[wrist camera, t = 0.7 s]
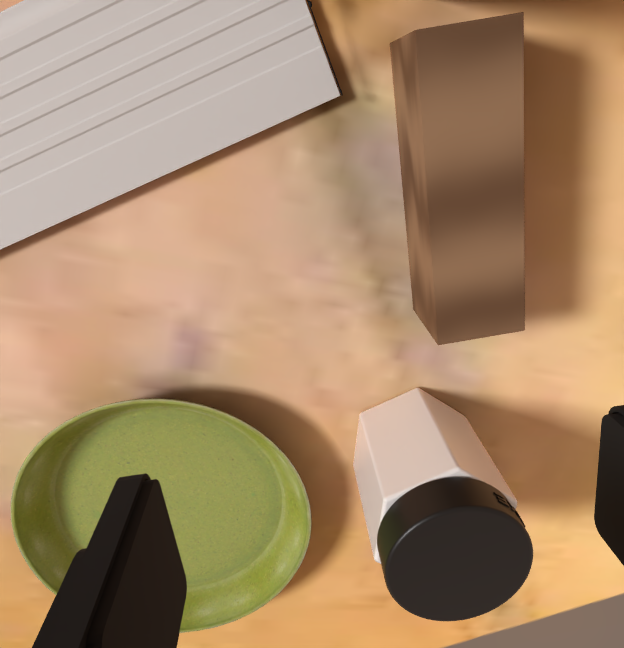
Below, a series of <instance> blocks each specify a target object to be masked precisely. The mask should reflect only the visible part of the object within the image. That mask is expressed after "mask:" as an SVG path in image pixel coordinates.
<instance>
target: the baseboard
mask: <svg viewBox="0 0 624 648" xmlns="http://www.w3.org/2000/svg"><path fill="white" fill-rule="evenodd" d="M307 1H308V0H307ZM308 4H309V7H310V10H311V7H312V3H311V1H308ZM311 12H312V10H311ZM312 15H313V12H312ZM313 18H314V15H313ZM314 21H315V18H314ZM315 23H316V21H315ZM316 26H317V23H316ZM317 29H318V26H317ZM318 32H319V29H318ZM319 34H320V32H319ZM320 37H321V34H320ZM321 40H322V37H321ZM322 43H323V40H322ZM323 45H324V43H323ZM324 48H325V45H324ZM325 51H326V48H325ZM326 54H327V51H326ZM327 56H328V54H327ZM328 59H329V56H328ZM329 62H330V59H329ZM330 65H331V62H330ZM331 67H332V65H331ZM332 70H333V67H332ZM333 73H334V70H333ZM334 76H335V73H334ZM335 78H336V76H335ZM336 81H337V78H336ZM337 84H338V81H337ZM338 87H339V84H338ZM339 89H340V87H339ZM339 91H340V93H341V95H342V91H341V89H340V90H339ZM339 91H338V88H337V85H336V83H335V80H334V77H333V75H332V72H331V69H330V66H329V64H328V61H327V58H326V55H325V53H324V50H323V47H322V45H321V42H320V40H319V37H318V34H317V31H316V29H315V26H314V23H313V20H312V17H311V15H310V12H309V10H308V7H307V4H306V1H305V0H24V1H22V2H20V3H18V4H16V5H14V6H12V7H10V8H8V9H6V10H4V11H2V12H0V249H3V248H5V247H7V246H9V245H11V244H14V243H16V242H18V241H20V240H22V239H25V238H27V237H29V236H31V235H33V234H36V233H38V232H40V231H42V230H45V229H47V228H49V227H51V226H53V225H56V224H58V223H60V222H62V221H64V220H67V219H69V218H71V217H73V216H75V215H78V214H80V213H82V212H84V211H86V210H89V209H91V208H93V207H95V206H98V205H100V204H102V203H104V202H106V201H109V200H111V199H113V198H115V197H117V196H120V195H122V194H124V193H126V192H128V191H131V190H133V189H135V188H137V187H139V186H142V185H144V184H146V183H148V182H151V181H153V180H155V179H157V178H159V177H162V176H164V175H166V174H168V173H170V172H173V171H175V170H177V169H179V168H181V167H184V166H186V165H188V164H190V163H192V162H195V161H197V160H199V159H201V158H204V157H206V156H208V155H210V154H212V153H215V152H217V151H219V150H221V149H223V148H226V147H228V146H230V145H232V144H234V143H237V142H239V141H241V140H243V139H245V138H248V137H250V136H252V135H254V134H256V133H259V132H261V131H263V130H265V129H268V128H270V127H272V126H274V125H276V124H279V123H281V122H283V121H285V120H287V119H290V118H292V117H294V116H296V115H298V114H301V113H303V112H305V111H307V110H309V109H312V108H314V107H316V106H318V105H321V104H323V103H325V102H327V101H329V100H332V99H334V98H336V97H338V96H340V94H339Z"/></svg>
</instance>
